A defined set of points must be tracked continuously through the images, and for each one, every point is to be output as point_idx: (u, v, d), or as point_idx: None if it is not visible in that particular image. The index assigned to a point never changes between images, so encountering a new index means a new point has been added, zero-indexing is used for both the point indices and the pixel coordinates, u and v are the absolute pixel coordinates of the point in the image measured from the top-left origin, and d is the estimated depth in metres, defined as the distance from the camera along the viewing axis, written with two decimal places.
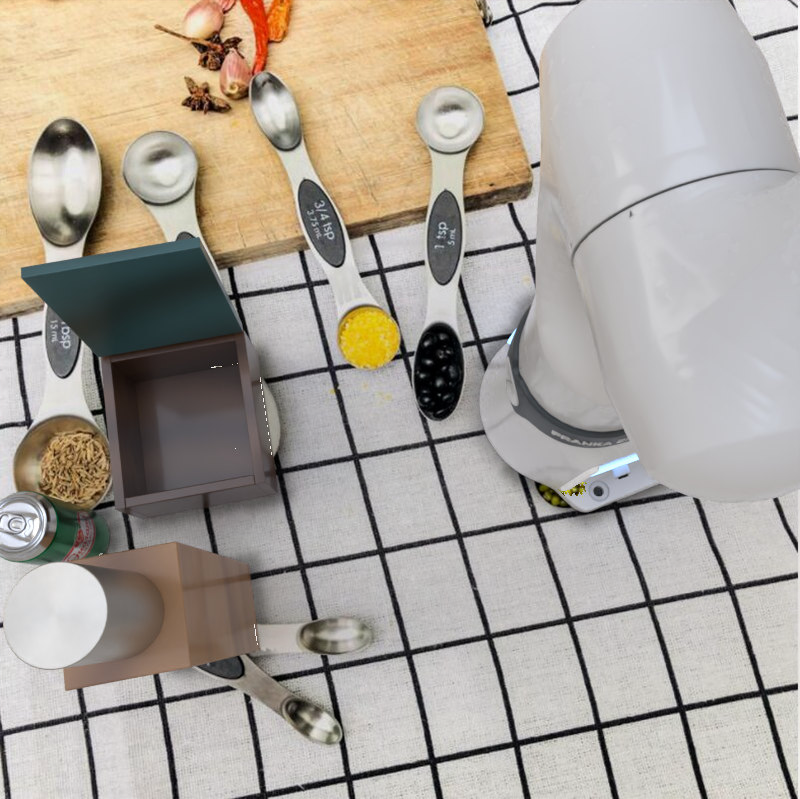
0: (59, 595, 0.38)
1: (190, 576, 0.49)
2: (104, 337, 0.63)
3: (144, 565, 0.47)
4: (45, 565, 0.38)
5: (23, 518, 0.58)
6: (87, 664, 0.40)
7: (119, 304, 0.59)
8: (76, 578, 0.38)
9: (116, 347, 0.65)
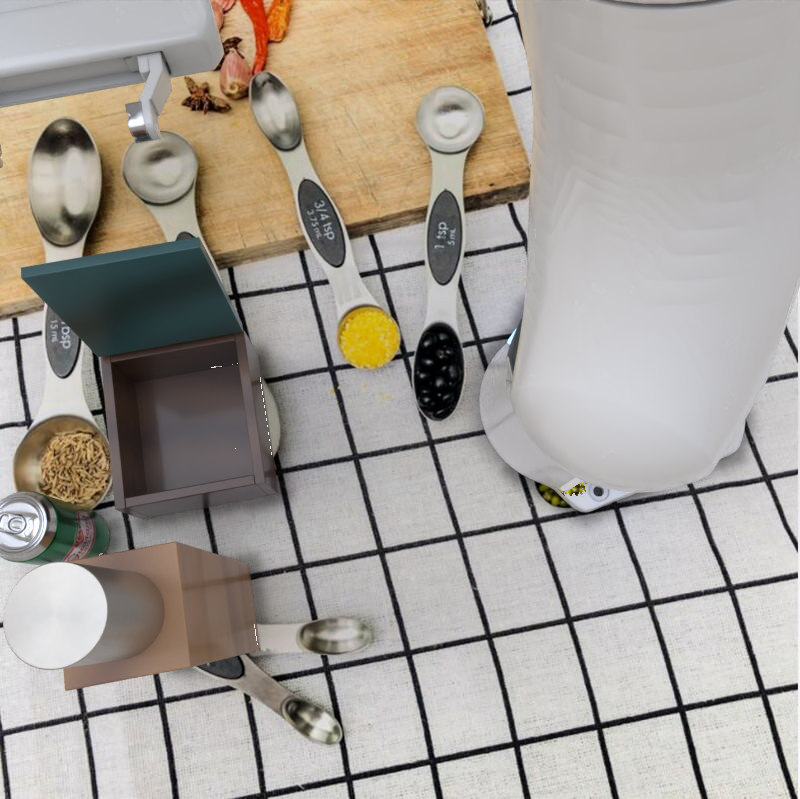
0: (59, 595, 0.38)
1: (190, 576, 0.49)
2: (104, 337, 0.63)
3: (144, 565, 0.47)
4: (45, 565, 0.38)
5: (23, 518, 0.58)
6: (87, 664, 0.40)
7: (119, 304, 0.59)
8: (76, 578, 0.38)
9: (116, 347, 0.65)
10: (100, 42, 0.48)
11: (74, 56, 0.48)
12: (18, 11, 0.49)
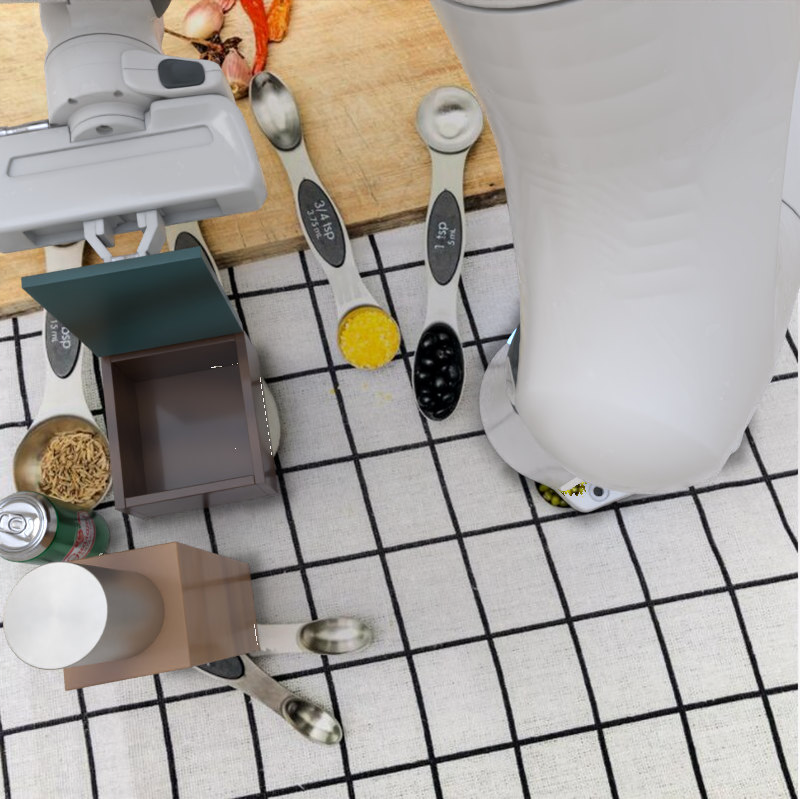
0: (59, 595, 0.38)
1: (190, 576, 0.49)
2: (104, 339, 0.63)
3: (144, 565, 0.47)
4: (45, 565, 0.38)
5: (23, 518, 0.58)
6: (87, 664, 0.40)
7: (120, 309, 0.58)
8: (76, 578, 0.38)
9: (116, 348, 0.65)
10: (163, 192, 0.57)
11: (141, 204, 0.57)
12: (94, 164, 0.57)
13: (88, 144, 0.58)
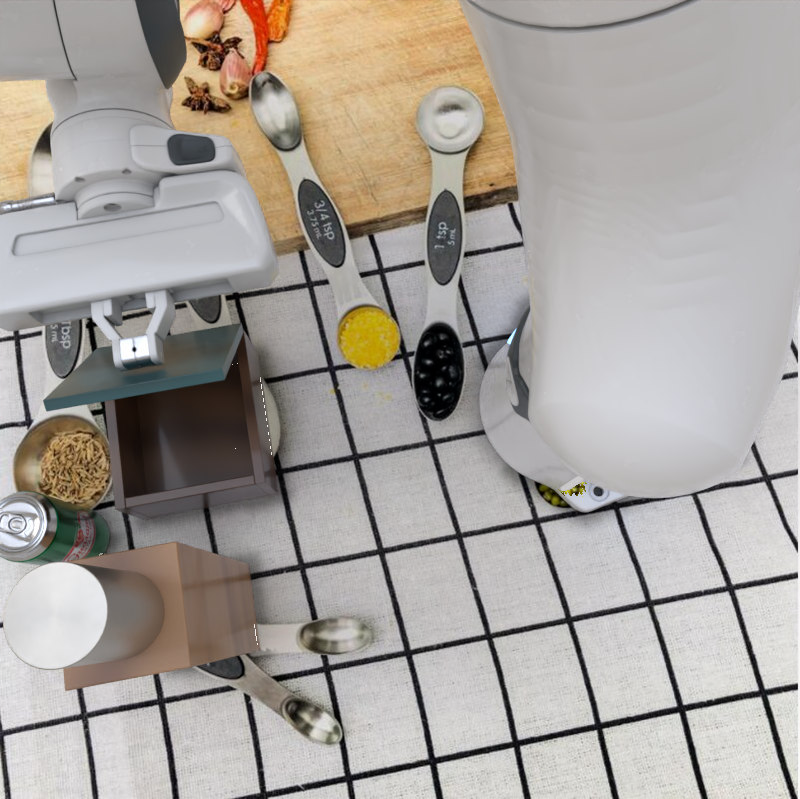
0: (59, 595, 0.38)
1: (190, 576, 0.49)
2: None
3: (144, 565, 0.47)
4: (45, 565, 0.38)
5: (23, 518, 0.58)
6: (87, 664, 0.40)
7: None
8: (76, 578, 0.38)
9: None
10: (173, 273, 0.55)
11: (150, 285, 0.55)
12: (102, 242, 0.56)
13: (95, 221, 0.56)
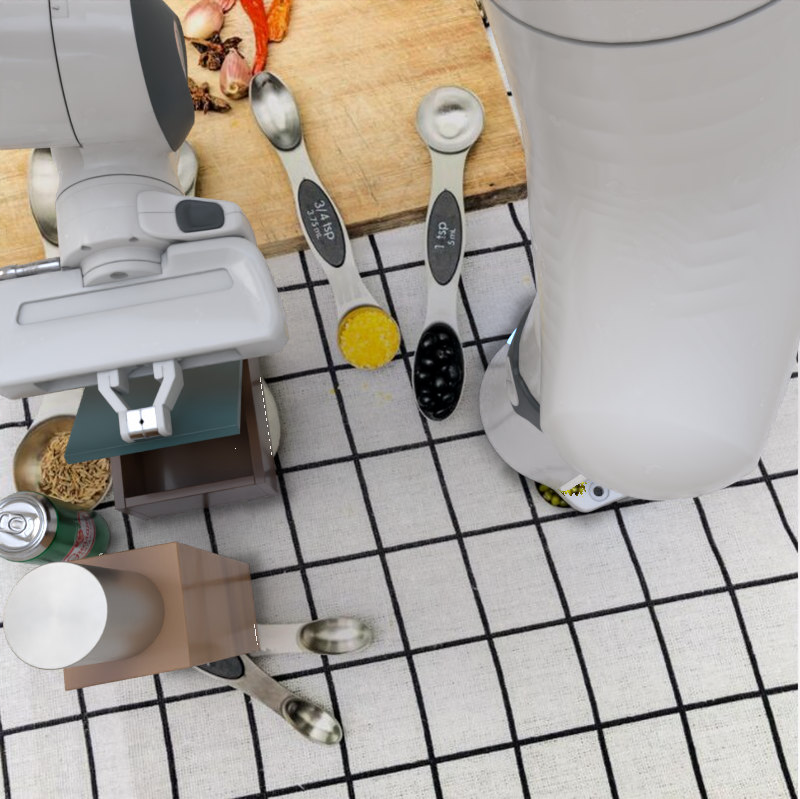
0: (59, 595, 0.38)
1: (190, 576, 0.49)
2: None
3: (144, 565, 0.47)
4: (45, 565, 0.38)
5: (23, 518, 0.58)
6: (87, 664, 0.40)
7: None
8: (76, 578, 0.38)
9: None
10: (181, 343, 0.54)
11: (157, 355, 0.54)
12: (108, 310, 0.55)
13: (102, 289, 0.55)
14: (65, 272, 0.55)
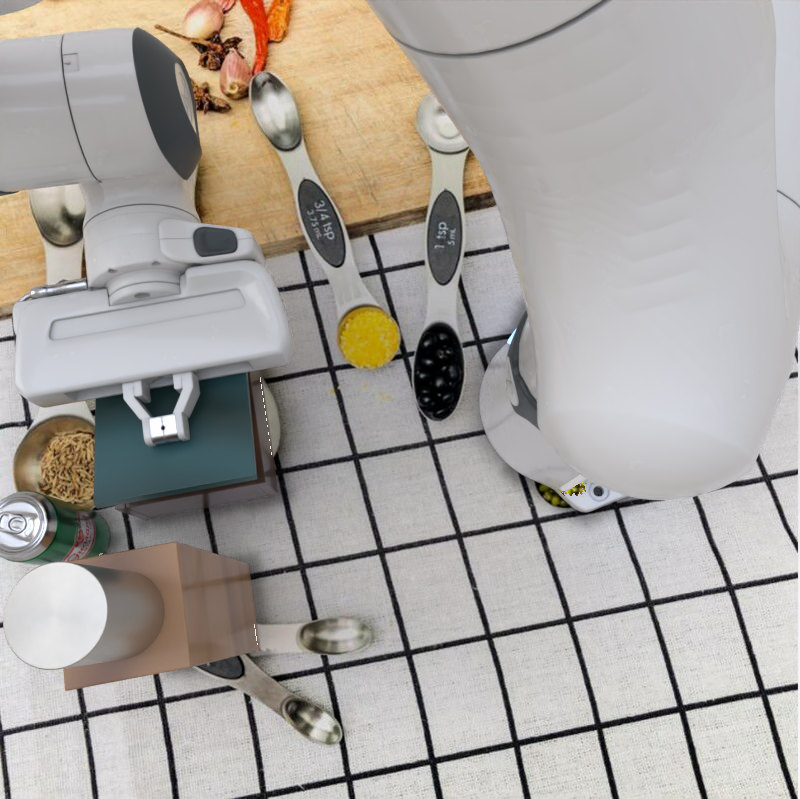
0: (59, 595, 0.38)
1: (190, 576, 0.49)
2: None
3: (144, 565, 0.47)
4: (45, 565, 0.38)
5: (23, 517, 0.58)
6: (87, 664, 0.40)
7: None
8: (76, 578, 0.38)
9: None
10: (198, 356, 0.60)
11: (177, 368, 0.60)
12: (132, 327, 0.60)
13: (126, 307, 0.61)
14: (92, 292, 0.61)
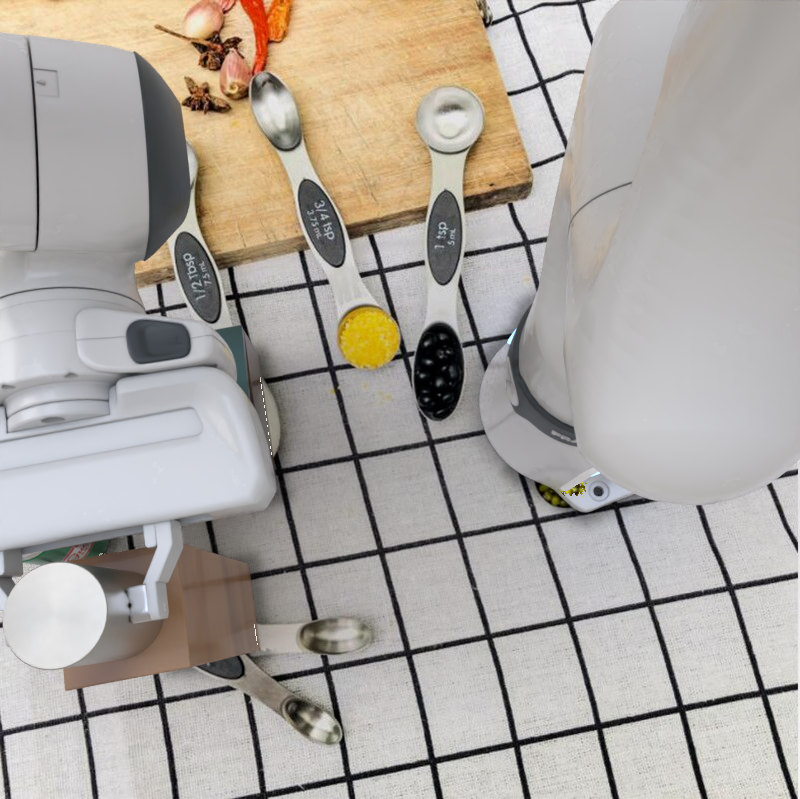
0: (59, 596, 0.38)
1: (190, 576, 0.49)
2: None
3: (144, 565, 0.47)
4: (44, 565, 0.38)
5: None
6: (87, 664, 0.40)
7: None
8: (75, 578, 0.38)
9: None
10: (134, 509, 0.41)
11: (103, 526, 0.41)
12: (40, 465, 0.42)
13: (31, 435, 0.42)
14: None
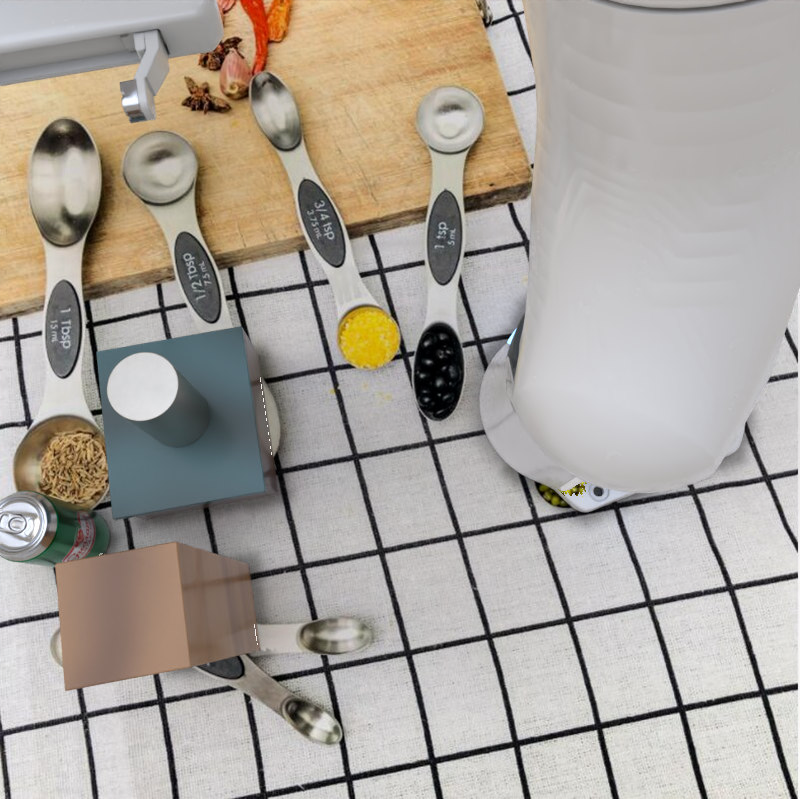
0: (145, 373, 0.56)
1: (190, 576, 0.49)
2: None
3: (144, 565, 0.47)
4: (134, 354, 0.56)
5: (23, 517, 0.58)
6: (161, 429, 0.58)
7: None
8: (156, 362, 0.56)
9: None
10: (96, 19, 0.47)
11: (69, 33, 0.47)
12: None
13: None
14: None
